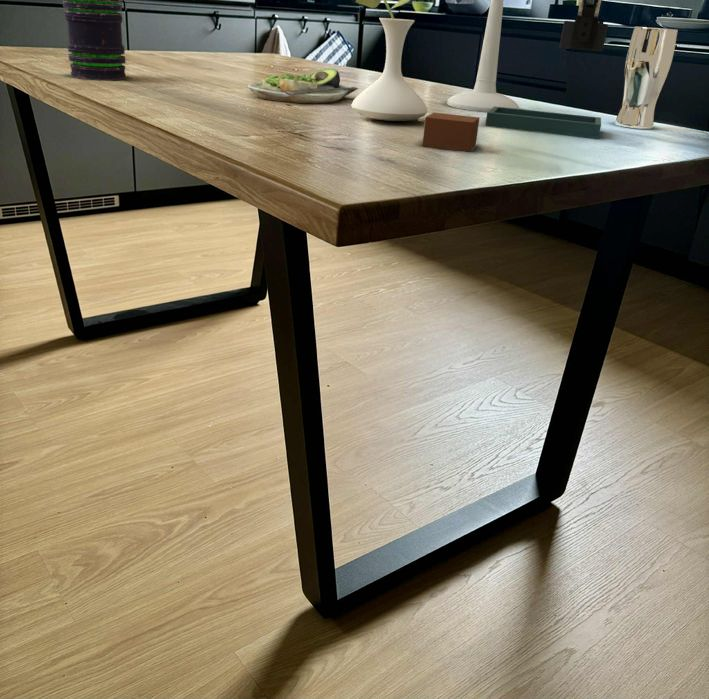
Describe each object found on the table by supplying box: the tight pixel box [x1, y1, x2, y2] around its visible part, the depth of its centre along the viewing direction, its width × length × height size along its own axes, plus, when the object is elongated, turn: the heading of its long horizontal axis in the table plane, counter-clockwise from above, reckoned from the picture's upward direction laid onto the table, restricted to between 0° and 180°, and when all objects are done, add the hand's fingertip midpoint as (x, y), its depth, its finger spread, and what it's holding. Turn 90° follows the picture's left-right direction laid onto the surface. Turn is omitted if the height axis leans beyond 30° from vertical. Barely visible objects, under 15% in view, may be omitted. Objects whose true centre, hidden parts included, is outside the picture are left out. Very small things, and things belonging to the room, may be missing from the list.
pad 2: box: [559, 20, 609, 52], centre depth 103 cm, size 6×5×4 cm
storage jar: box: [62, 0, 127, 81], centre depth 129 cm, size 10×10×15 cm
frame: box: [484, 106, 602, 140], centre depth 110 cm, size 17×9×2 cm, turn 73°
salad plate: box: [247, 68, 359, 104], centre depth 123 cm, size 19×18×5 cm
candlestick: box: [446, 0, 520, 113], centre depth 123 cm, size 13×13×30 cm
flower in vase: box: [351, 0, 428, 122], centre depth 102 cm, size 13×11×25 cm
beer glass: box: [614, 26, 679, 130], centre depth 117 cm, size 7×7×15 cm
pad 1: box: [421, 112, 480, 152], centre depth 90 cm, size 6×5×4 cm
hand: (582, 45), depth 104 cm, fingers closed on pad 2, 5 cm apart
